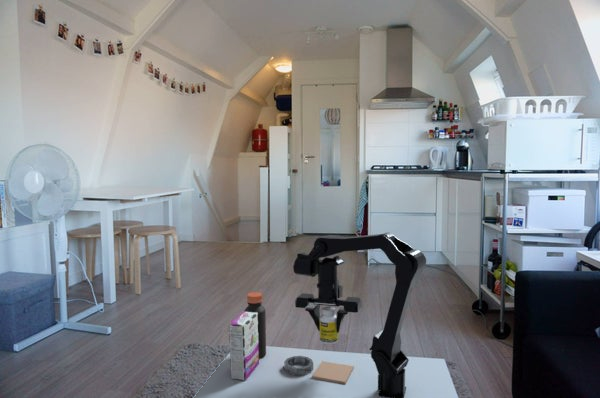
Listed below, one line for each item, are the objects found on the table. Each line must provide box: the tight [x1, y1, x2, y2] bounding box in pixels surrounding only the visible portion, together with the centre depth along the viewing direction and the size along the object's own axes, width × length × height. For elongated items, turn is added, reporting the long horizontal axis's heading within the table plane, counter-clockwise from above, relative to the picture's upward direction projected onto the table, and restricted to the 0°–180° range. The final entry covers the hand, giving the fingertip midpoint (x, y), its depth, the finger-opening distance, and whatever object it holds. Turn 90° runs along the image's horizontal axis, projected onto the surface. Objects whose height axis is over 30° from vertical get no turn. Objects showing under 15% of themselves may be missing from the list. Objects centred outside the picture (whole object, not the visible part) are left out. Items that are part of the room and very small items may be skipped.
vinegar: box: [243, 291, 267, 360], centre depth 135 cm, size 7×7×20 cm
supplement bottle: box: [319, 306, 339, 345], centre depth 123 cm, size 5×5×10 cm
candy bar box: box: [228, 311, 260, 382], centre depth 124 cm, size 11×5×16 cm, turn 164°
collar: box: [283, 355, 314, 377], centre depth 126 cm, size 8×8×2 cm
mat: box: [311, 360, 355, 385], centre depth 124 cm, size 10×10×1 cm
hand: (328, 331), depth 123 cm, fingers closed on supplement bottle, 5 cm apart
